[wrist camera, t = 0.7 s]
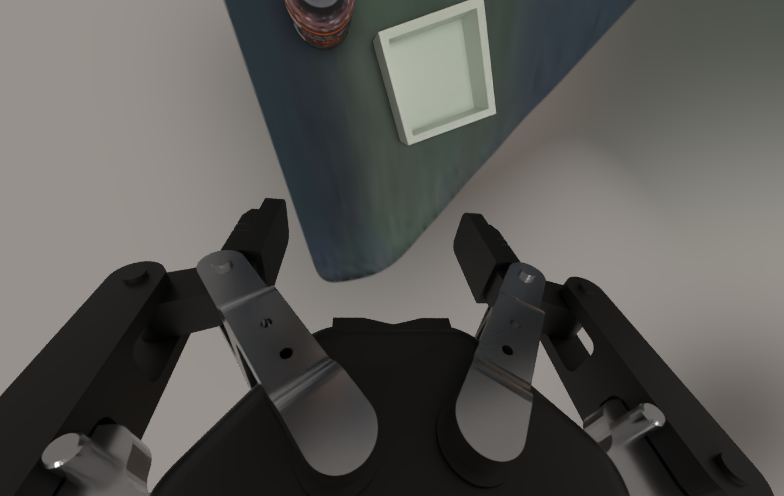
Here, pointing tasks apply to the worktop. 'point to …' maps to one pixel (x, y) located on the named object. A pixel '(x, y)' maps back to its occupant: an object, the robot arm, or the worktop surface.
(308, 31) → the supplement bottle
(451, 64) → the box
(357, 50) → the worktop surface
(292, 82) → the worktop surface
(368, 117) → the worktop surface
